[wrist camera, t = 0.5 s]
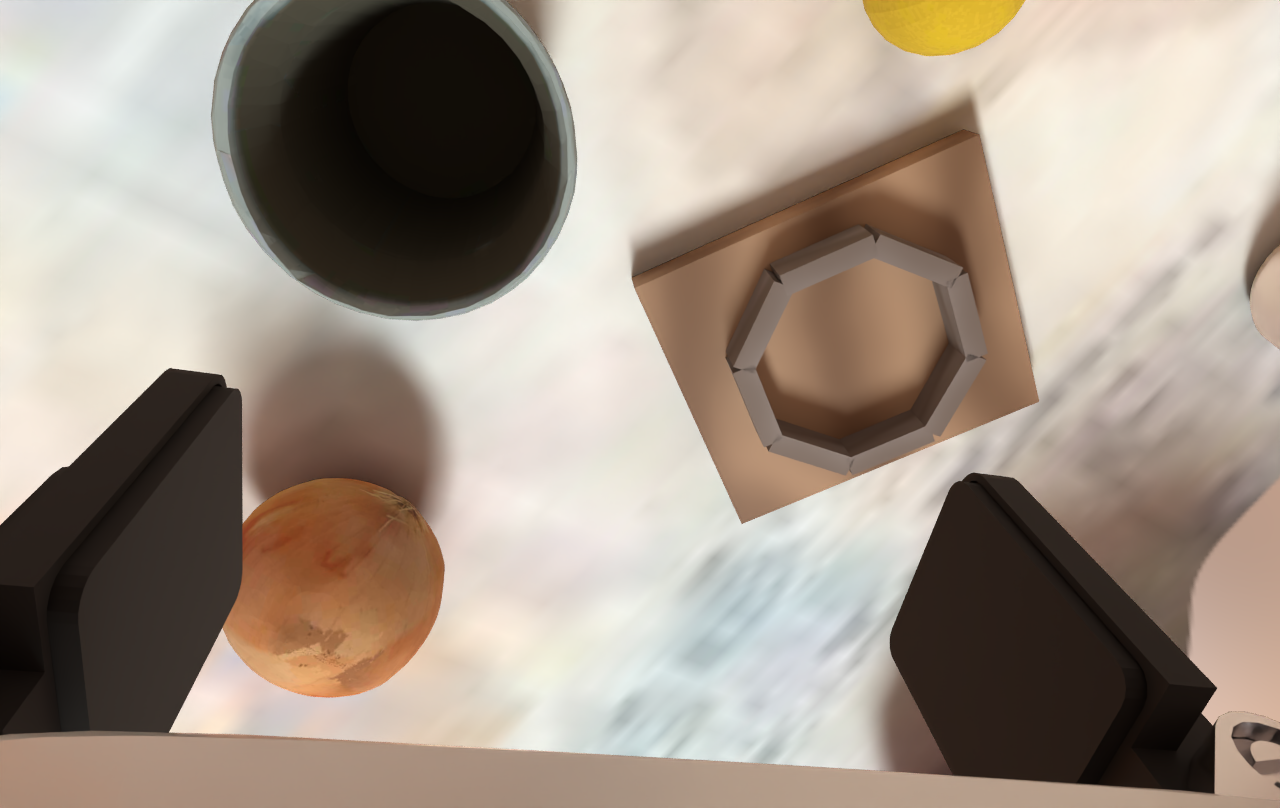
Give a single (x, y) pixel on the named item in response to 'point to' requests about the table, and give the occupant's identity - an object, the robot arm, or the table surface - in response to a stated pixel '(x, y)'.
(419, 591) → the onion
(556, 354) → the table surface
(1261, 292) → the plastic bottle
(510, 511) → the table surface
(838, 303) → the holder
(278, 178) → the grey cup
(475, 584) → the table surface
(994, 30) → the lemon
